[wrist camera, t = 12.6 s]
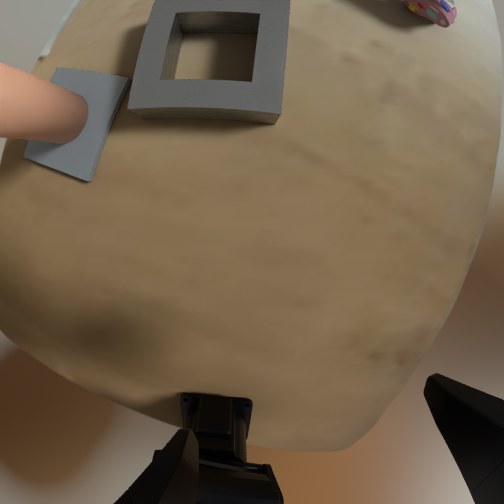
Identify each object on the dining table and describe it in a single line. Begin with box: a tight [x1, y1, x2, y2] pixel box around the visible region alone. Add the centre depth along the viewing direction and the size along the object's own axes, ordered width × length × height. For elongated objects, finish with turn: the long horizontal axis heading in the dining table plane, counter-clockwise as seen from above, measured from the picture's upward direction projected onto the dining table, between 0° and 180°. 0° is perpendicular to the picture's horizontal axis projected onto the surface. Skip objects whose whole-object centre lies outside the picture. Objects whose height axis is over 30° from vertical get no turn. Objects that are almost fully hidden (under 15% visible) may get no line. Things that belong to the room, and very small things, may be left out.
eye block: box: [127, 0, 290, 124], centre depth 14 cm, size 9×9×3 cm
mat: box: [23, 68, 132, 182], centre depth 15 cm, size 8×8×1 cm
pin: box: [0, 63, 89, 144], centre depth 9 cm, size 4×4×12 cm
